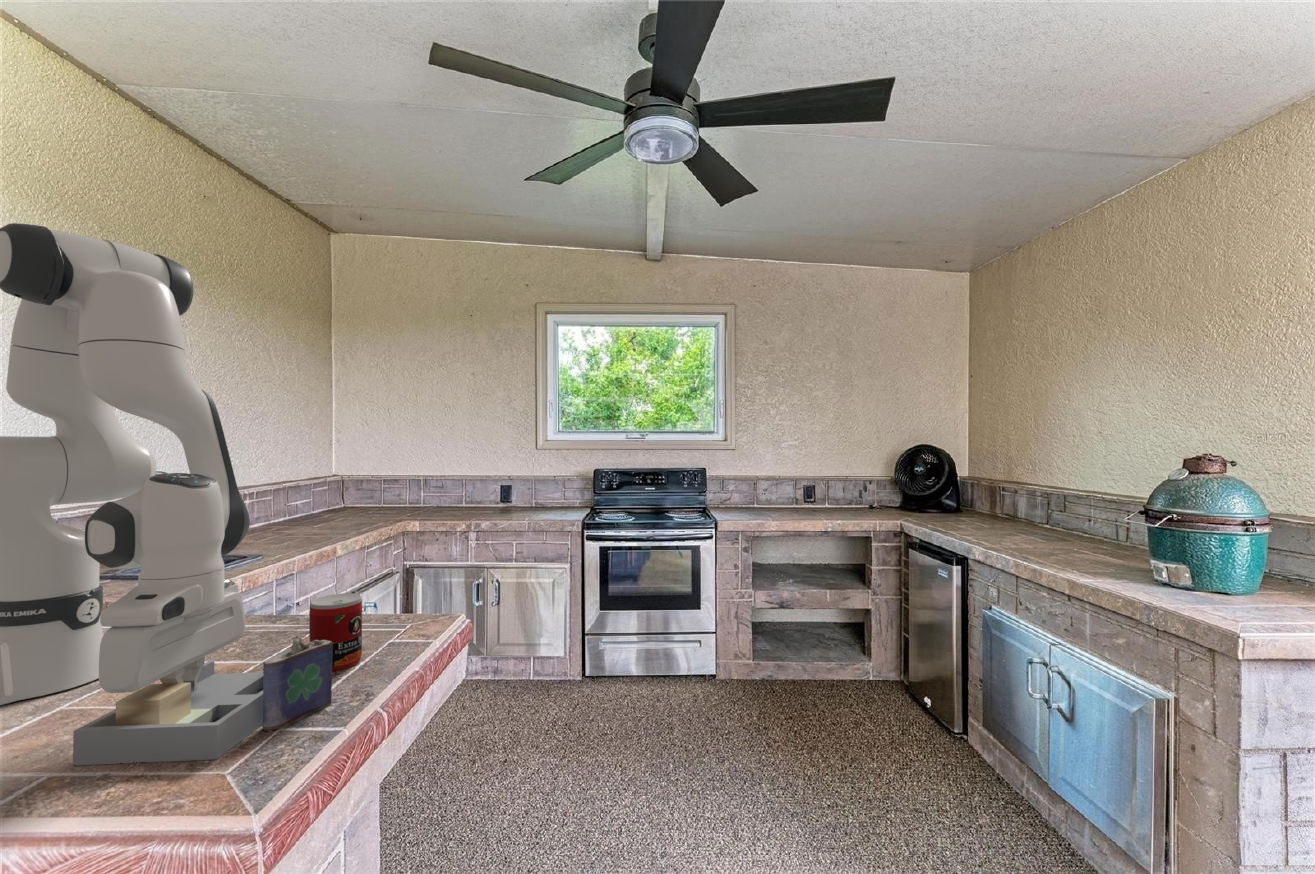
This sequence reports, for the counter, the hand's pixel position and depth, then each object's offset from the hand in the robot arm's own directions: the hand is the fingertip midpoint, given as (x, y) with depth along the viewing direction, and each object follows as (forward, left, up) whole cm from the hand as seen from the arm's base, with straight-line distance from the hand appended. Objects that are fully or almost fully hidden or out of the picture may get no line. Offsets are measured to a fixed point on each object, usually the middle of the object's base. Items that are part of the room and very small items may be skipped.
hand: (182, 697), depth 74 cm
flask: (+15, +1, -4) cm, 15 cm away
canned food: (+10, +19, -4) cm, 22 cm away
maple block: (0, -4, -1) cm, 5 cm away
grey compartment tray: (+3, +1, -3) cm, 5 cm away
